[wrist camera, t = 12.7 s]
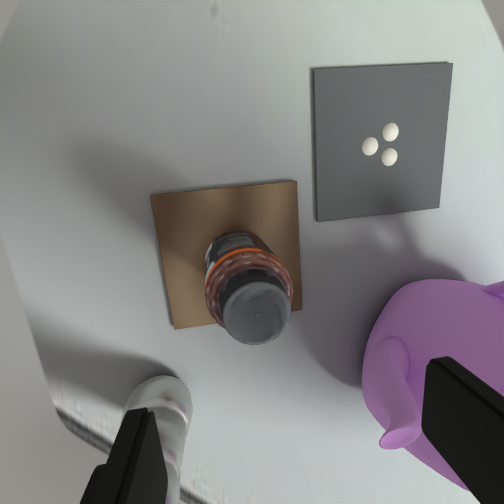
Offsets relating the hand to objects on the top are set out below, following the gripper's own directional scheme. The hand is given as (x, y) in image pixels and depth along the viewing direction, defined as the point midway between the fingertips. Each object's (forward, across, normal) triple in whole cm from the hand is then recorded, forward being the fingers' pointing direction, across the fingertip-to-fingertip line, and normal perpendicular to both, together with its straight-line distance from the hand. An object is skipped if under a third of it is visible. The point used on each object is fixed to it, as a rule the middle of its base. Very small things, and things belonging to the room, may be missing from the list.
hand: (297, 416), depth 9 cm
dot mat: (+19, -14, -10) cm, 25 cm away
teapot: (+20, -19, +12) cm, 30 cm away
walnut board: (+19, +1, -1) cm, 19 cm away
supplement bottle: (+18, +1, 0) cm, 18 cm away
